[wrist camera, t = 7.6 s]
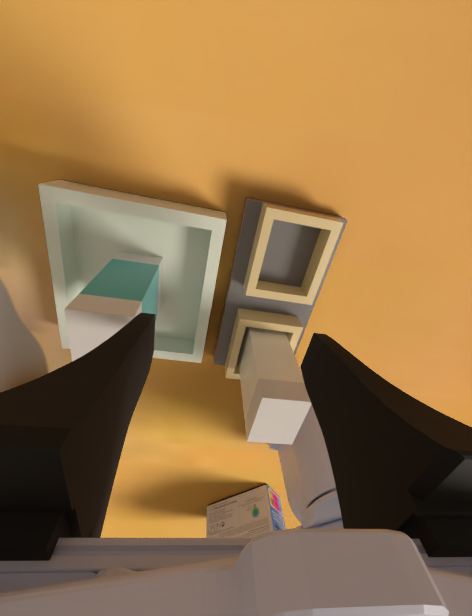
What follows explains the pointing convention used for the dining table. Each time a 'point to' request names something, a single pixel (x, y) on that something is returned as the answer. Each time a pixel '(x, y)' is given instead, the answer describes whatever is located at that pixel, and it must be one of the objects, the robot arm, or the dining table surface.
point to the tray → (140, 240)
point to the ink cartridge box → (246, 515)
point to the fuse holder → (275, 274)
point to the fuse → (271, 387)
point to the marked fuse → (113, 300)
